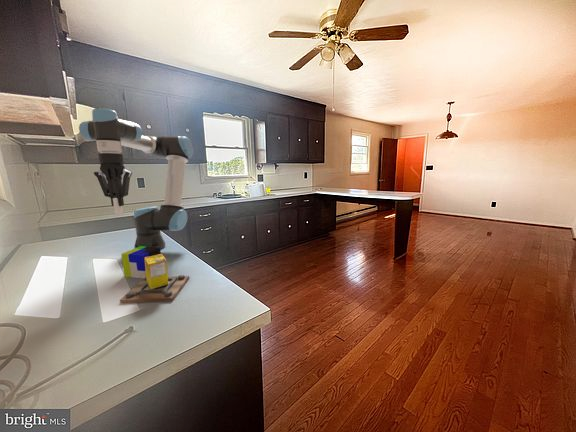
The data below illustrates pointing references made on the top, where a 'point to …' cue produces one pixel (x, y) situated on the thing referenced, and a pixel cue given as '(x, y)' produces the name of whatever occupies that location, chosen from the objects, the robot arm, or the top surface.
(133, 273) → the puzzle toy
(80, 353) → the top surface
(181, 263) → the top surface
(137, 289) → the base plate
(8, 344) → the top surface
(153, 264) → the supplement box
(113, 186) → the robot arm
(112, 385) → the top surface
